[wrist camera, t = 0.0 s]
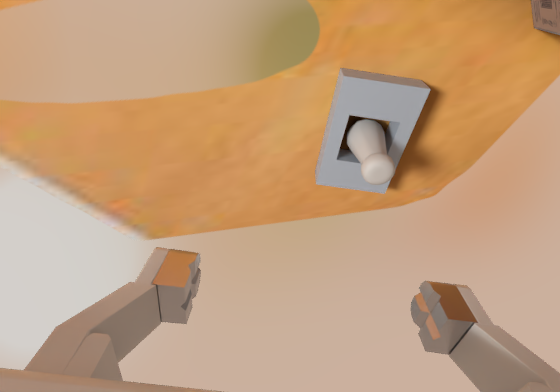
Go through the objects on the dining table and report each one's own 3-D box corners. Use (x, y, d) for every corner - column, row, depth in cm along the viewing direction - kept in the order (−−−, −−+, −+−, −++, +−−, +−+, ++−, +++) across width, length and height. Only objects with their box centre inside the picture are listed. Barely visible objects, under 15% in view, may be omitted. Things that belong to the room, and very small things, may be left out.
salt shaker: (348, 150, 51) (360, 196, 41) (340, 120, 48) (352, 162, 37) (383, 140, 50) (405, 186, 39) (378, 109, 46) (400, 149, 36)
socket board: (340, 67, 43) (343, 75, 40) (421, 80, 43) (430, 89, 40) (315, 171, 54) (316, 184, 51) (379, 180, 54) (384, 193, 51)
